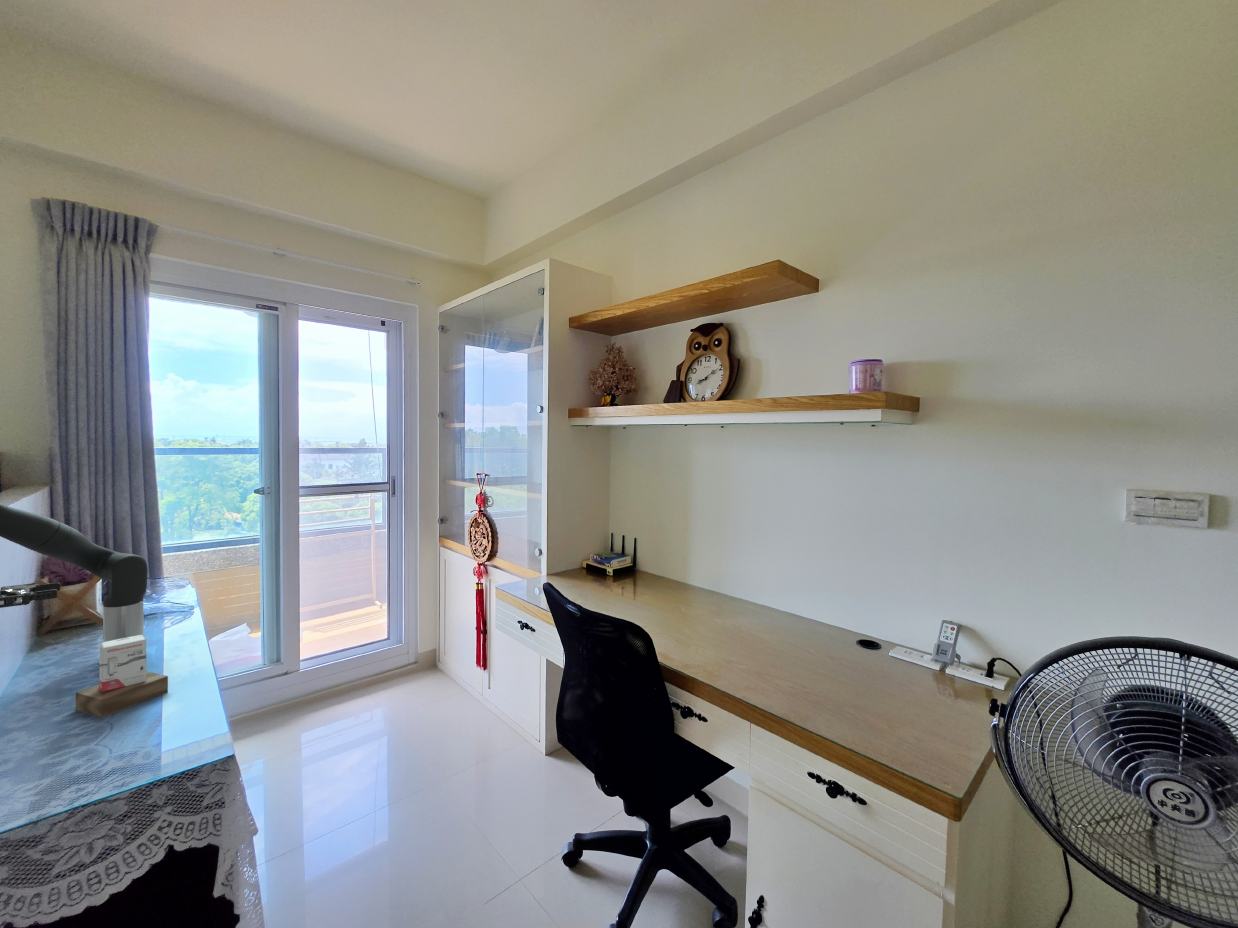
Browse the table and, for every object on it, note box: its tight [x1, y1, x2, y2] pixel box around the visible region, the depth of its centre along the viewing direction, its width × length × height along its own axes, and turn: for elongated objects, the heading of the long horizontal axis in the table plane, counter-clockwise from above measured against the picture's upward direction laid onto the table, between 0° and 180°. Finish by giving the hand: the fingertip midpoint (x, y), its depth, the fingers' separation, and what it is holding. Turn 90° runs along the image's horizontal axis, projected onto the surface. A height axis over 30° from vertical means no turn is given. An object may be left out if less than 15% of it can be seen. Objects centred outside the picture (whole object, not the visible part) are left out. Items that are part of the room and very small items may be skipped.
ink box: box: [98, 634, 147, 692], centre depth 132 cm, size 9×5×12 cm, turn 142°
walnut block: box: [75, 670, 169, 719], centre depth 132 cm, size 11×14×5 cm
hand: (58, 589), depth 131 cm, fingers open, 8 cm apart
